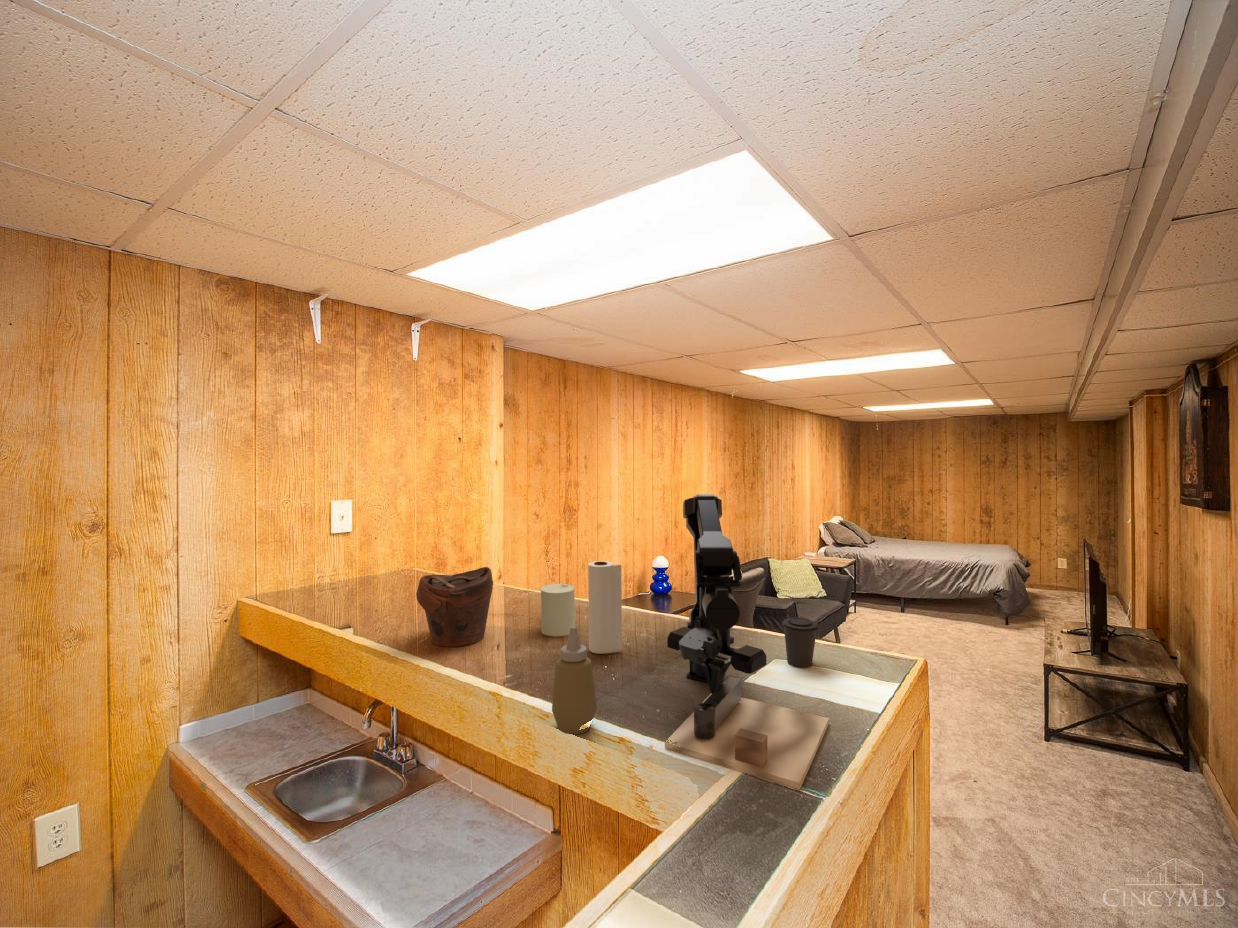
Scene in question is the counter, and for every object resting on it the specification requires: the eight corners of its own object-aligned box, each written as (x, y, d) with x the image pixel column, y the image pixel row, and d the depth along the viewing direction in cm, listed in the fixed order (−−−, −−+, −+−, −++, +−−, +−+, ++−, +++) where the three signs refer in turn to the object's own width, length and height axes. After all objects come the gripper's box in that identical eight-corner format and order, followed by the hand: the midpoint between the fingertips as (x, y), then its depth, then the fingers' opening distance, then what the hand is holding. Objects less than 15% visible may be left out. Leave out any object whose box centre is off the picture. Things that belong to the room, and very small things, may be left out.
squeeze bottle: (602, 734, 98) (601, 633, 98) (556, 742, 96) (555, 638, 95) (591, 713, 106) (590, 618, 105) (548, 719, 104) (547, 623, 103)
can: (582, 628, 153) (581, 584, 152) (561, 639, 145) (560, 593, 145) (555, 622, 158) (555, 580, 157) (533, 632, 150) (533, 588, 150)
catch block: (735, 759, 89) (735, 734, 89) (740, 752, 91) (740, 728, 91) (762, 768, 87) (762, 742, 86) (767, 760, 89) (767, 735, 89)
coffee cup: (773, 660, 131) (773, 617, 130) (799, 654, 134) (800, 612, 134) (799, 673, 123) (800, 628, 123) (826, 666, 127) (827, 622, 127)
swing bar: (710, 741, 93) (710, 715, 93) (690, 735, 95) (690, 710, 95) (743, 700, 108) (744, 677, 107) (725, 696, 110) (725, 673, 109)
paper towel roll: (583, 649, 138) (583, 562, 137) (603, 643, 142) (602, 559, 141) (602, 658, 132) (601, 567, 131) (622, 651, 136) (621, 564, 135)
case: (400, 643, 143) (400, 573, 142) (463, 622, 159) (462, 559, 158) (448, 659, 133) (447, 584, 132) (508, 635, 149) (509, 568, 148)
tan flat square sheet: (664, 748, 94) (664, 742, 94) (713, 695, 113) (713, 690, 113) (799, 789, 83) (799, 783, 83) (828, 723, 102) (829, 718, 102)
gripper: (648, 610, 106) (648, 691, 107) (735, 634, 93) (733, 727, 94) (684, 598, 114) (683, 673, 115) (768, 618, 101) (767, 704, 102)
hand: (714, 693), depth 106 cm, fingers closed
